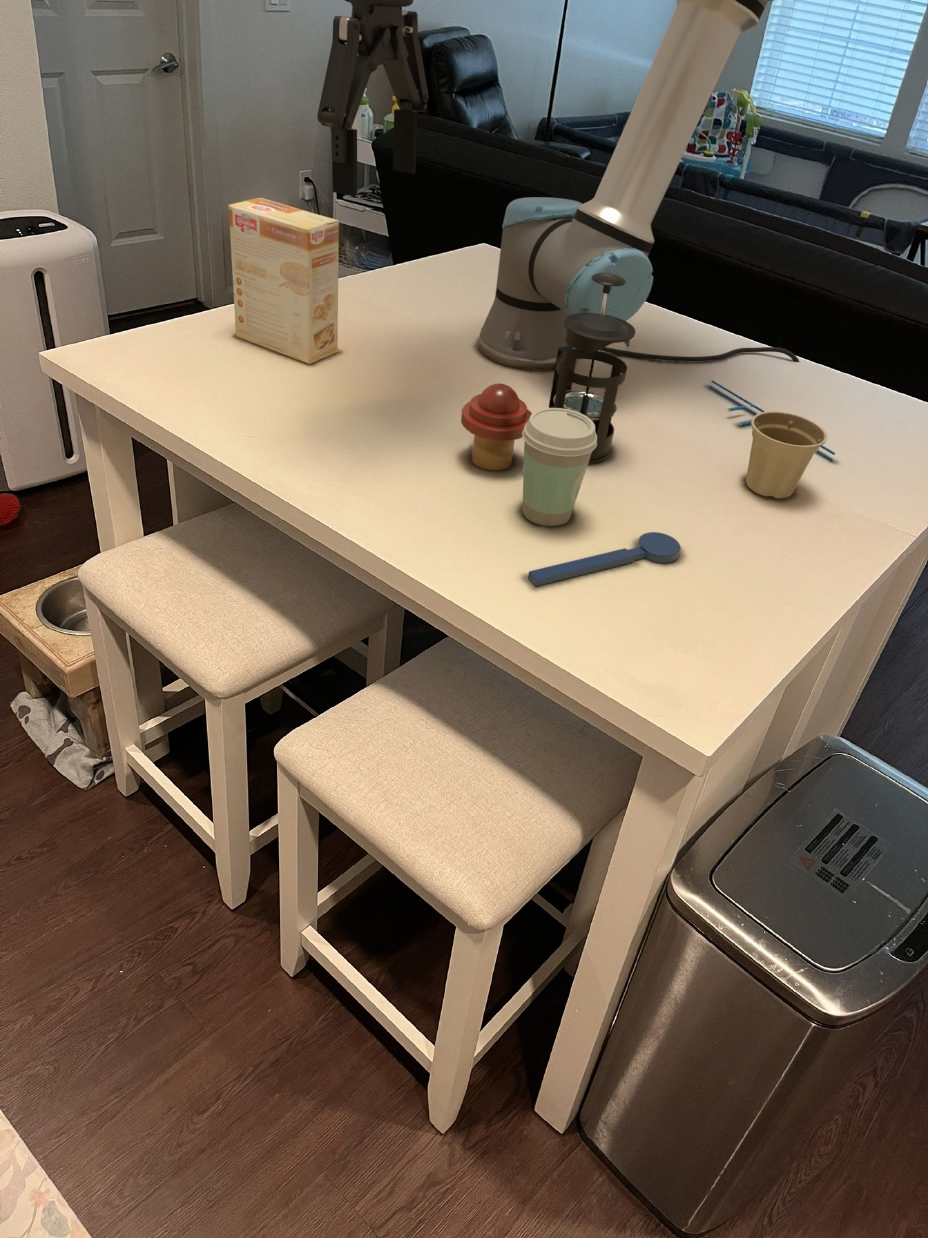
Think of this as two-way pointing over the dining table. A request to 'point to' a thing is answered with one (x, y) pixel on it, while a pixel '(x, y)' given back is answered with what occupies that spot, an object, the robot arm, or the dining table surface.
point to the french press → (587, 339)
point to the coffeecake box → (285, 278)
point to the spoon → (611, 559)
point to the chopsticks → (753, 412)
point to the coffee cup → (555, 463)
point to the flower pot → (781, 451)
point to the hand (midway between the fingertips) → (375, 182)
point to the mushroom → (495, 425)
